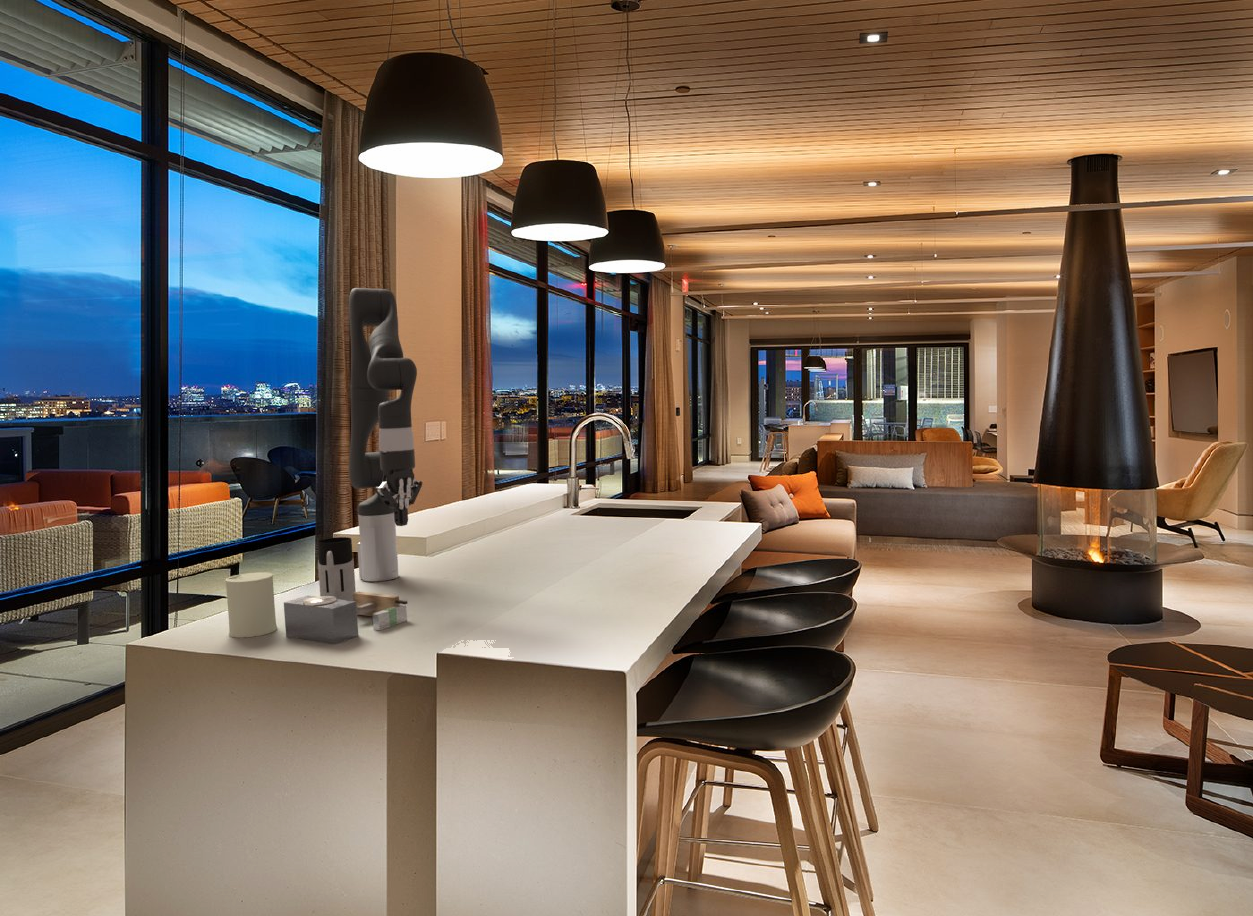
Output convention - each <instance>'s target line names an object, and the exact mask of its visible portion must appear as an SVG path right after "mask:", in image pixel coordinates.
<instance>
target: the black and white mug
mask: <svg viewBox="0 0 1253 916" xmlns="http://www.w3.org/2000/svg"><path fill="white" fill-rule="evenodd" d="M316 542H317V557H318V560H317V565H318V567H317V568H318V584H319V594H320V595H319V597H320V596H333V597H336V599H340V600H348V601H353V593H355V592H357V591H356V576H355V561H354V560H355V559H354V556H353V543H352V538H351V537H348V536H347V537H345V536H342V537H341V536H340V537H337V536H336V537H328V538H322V539H319V540H317V541H316Z"/></svg>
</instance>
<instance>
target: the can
mask: <svg viewBox="0 0 1253 916" xmlns="http://www.w3.org/2000/svg"><path fill="white" fill-rule="evenodd" d="M224 582H225V589H226V590H225V591H226V598H227V599H226V600H227V611H228V612H227V613H228V626H229V627H228V628H229V630H228V631H229V632H228V635H229V636H230V637H232V638H237V639H238V638H239V639H240V638H241V639H242V638H243V637H247V638H255V637H254V636H256V637H260V636H266V635H268V634H271V633H273V632H275V631H277V629H278V626H277V618H276V606H275V605H276V604H275V594H274V593H275V592H274V590H275V589H274V574H273V573H272V572H265V571H263V572H262V571H261V572H260V571H258V572H255V571H254V572H248V573H241V574H237V575H236V574H234V575H231V576H229V577H227V578H226V579H225V580H224ZM243 639H244V638H243Z"/></svg>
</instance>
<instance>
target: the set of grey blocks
mask: <svg viewBox="0 0 1253 916" xmlns="http://www.w3.org/2000/svg"><path fill="white" fill-rule="evenodd" d="M283 612H284V613H283V615H284V624H285V625H284V626H285V627H284V628H285V636H286V638H287V637H289V638H295V639H302V640H307V641H313V642H320V643H325V644H332V645H336V644H338V643H342V642H345V641H347V640H351V639H353V638H356V637H358V636H359V625H358V624H359V623H358V614H357V606H356V601H348V600H340V599H336V597H333V596H320V595H319V596H314V595H305V596H302V597H297V598H295V599H292V600H287V601H284V602H283ZM407 614H408V611H407V604H399V605H398V606H395V607H392V608H391V607H390V608H387V609H384V610H383V611H380V612H377V613H374V614H373V616H372V624H373V630H374V631H382V630H384V629H387V628H390V627H393V626H396V625H398V624H400V623H404V622H407V621H408V615H407Z"/></svg>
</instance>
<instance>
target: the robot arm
mask: <svg viewBox="0 0 1253 916" xmlns="http://www.w3.org/2000/svg"><path fill="white" fill-rule="evenodd" d="M348 313H349V314H348V315H349V318H348V319H349V330H350V332H349V333H350V335H349V336H350V348H351V349H350V351H351V353H350V354H351V355H350V357H351V359H350V365H351V366H350V388H349V389H350V417H351V418H350V419H351V420H350V421H351V423H350V424H351V427H350V443H349V444H350V445H349V458H348V459H349V460H348V476H349V481H350V484H351V486H352V488H354V489H357V490H358V489H359V490H361V489H371V488H373V489H374V491H375V494H373V495H372V496H370V497H369V498H368V499H365V500H363V501H361V502H360V503H359V504H358V506H357V517H358V531H359V532H358V533H359V542H357V544H356V545H357V556H358V557H357V558H358V559H357V560H358V573H359V574H358V575H359V579H361V580H362V581H365V582H384V581H390V580H393V579H397V578H399V576H400V575H399V559H398V545H397V544H398V543H397V541H398V540H397V529H396V527H404V526H407V525H408V521H409V516H408V515H409V512H408V509H409V507H410V506H411V505H414V504H415V502H416V500H417V497H418V495H419V493H420V491H421V488H422V486H423V481H421V480H417V479H416V478H415V474H414V471H413V470H414V469H415V468H416V456H415V453H416V452H415V441H414V439H415V438H414V434H413V428H412V426H413V425H412V400H413V393H414V390H415V385H416V382H417V381H416V380H417V376H418V371H417V370H418V369H417V366H416V364H415V362H414V361H413V360H412V359H411V358H408V357H404V353H403V348H402V344H401V342H400V341H401V340H400V336H399V319H398V318H399V317H398V307H397V300H396V296H395V295H394V292H393V291H391V290H389V289H385V288H369V287H368V288H367V287H366V288H365V287H354V288H352V289H351V290H350V292H349V298H348ZM364 327H376V328H374V329H373V331H372V332H371V334H370V336H369V339H368V340H369V341H367V338H366V334H365V332H364ZM389 391H400V393H399V395H398V397H397V398H394V399H389ZM377 423H378V428H379V429H378V430H379V431H378V433H379V434H378V447H379V451H374V452H373V451H371V452H370V451H369V452H366V451H367V447H368V446H367V445H368V441H369V439H370V435H371V434H372V432H373V430H374V428H375V427H376V426H377Z"/></svg>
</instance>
